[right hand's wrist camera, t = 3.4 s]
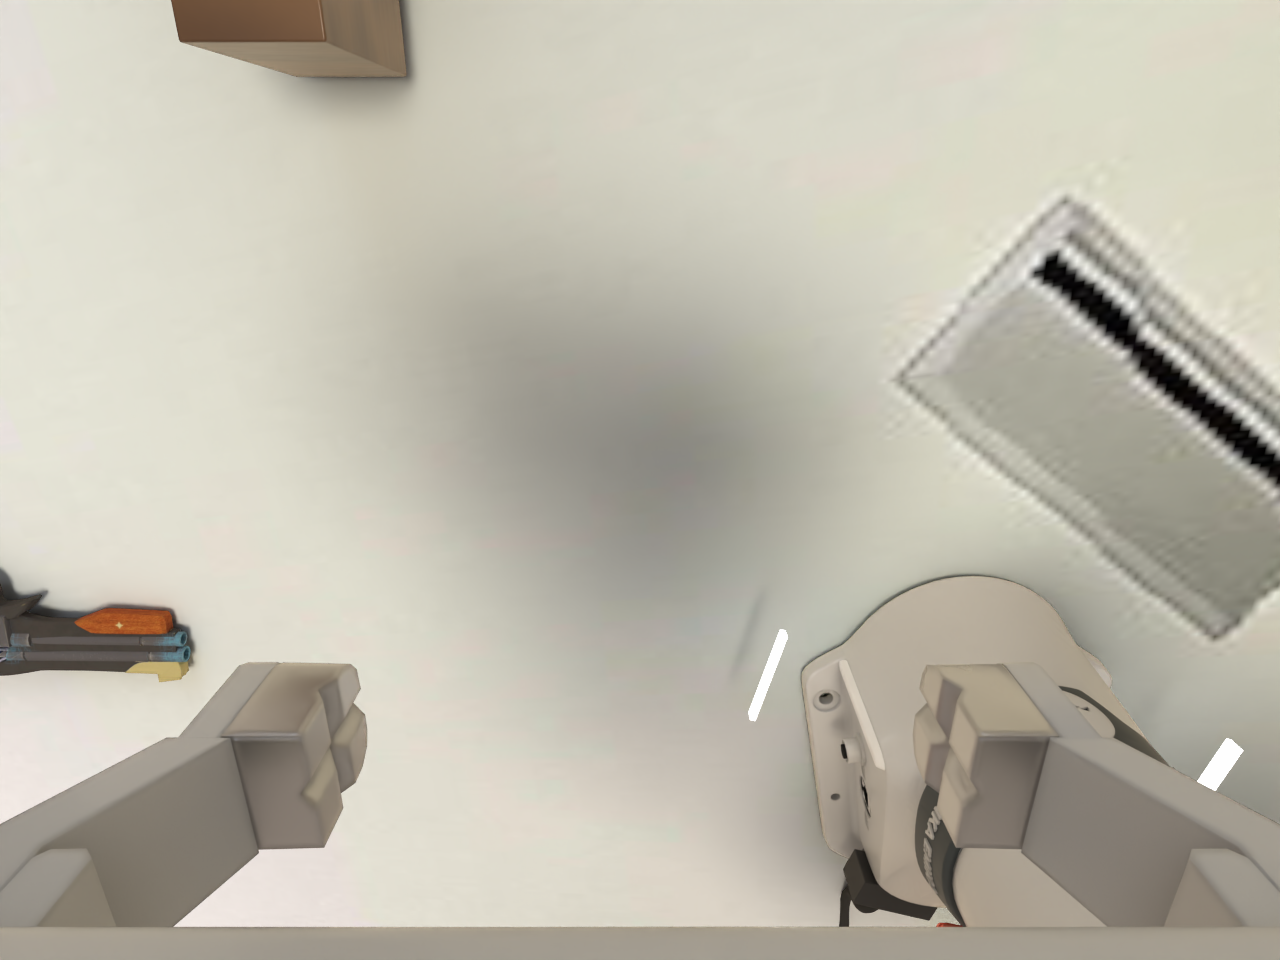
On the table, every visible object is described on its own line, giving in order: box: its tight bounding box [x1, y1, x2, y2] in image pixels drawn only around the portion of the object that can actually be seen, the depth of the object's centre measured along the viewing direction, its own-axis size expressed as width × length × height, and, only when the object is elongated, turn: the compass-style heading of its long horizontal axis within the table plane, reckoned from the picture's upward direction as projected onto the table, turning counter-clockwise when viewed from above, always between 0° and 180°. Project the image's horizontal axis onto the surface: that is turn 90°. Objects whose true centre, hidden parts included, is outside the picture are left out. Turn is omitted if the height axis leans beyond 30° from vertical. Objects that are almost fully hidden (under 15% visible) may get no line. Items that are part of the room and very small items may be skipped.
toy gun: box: [0, 584, 191, 682], centre depth 43 cm, size 3×19×10 cm
